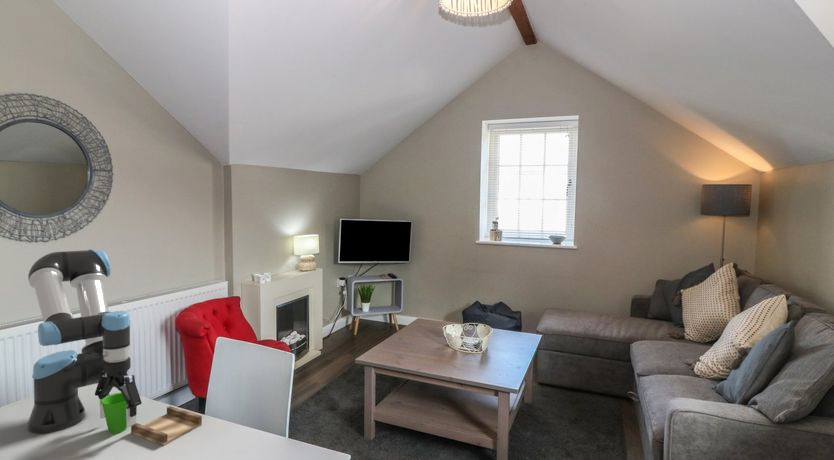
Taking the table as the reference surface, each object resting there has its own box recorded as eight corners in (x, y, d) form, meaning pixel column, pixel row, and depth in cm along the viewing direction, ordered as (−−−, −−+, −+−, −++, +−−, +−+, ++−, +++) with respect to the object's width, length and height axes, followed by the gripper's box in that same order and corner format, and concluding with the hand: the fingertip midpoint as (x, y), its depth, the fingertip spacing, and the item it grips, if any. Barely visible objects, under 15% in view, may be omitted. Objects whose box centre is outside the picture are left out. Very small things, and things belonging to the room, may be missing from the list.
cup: (117, 438, 141) (116, 406, 141) (94, 434, 143) (93, 402, 142) (140, 424, 150) (139, 393, 149) (118, 421, 152) (117, 390, 151)
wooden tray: (131, 433, 145) (130, 424, 144) (169, 414, 158) (169, 405, 157) (164, 445, 138) (163, 435, 138) (201, 425, 151) (201, 416, 151)
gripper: (81, 356, 146) (82, 417, 147) (130, 368, 136) (131, 434, 138) (104, 349, 153) (106, 408, 154) (153, 361, 143) (154, 423, 145)
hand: (118, 421), depth 146 cm, fingers open, 13 cm apart
